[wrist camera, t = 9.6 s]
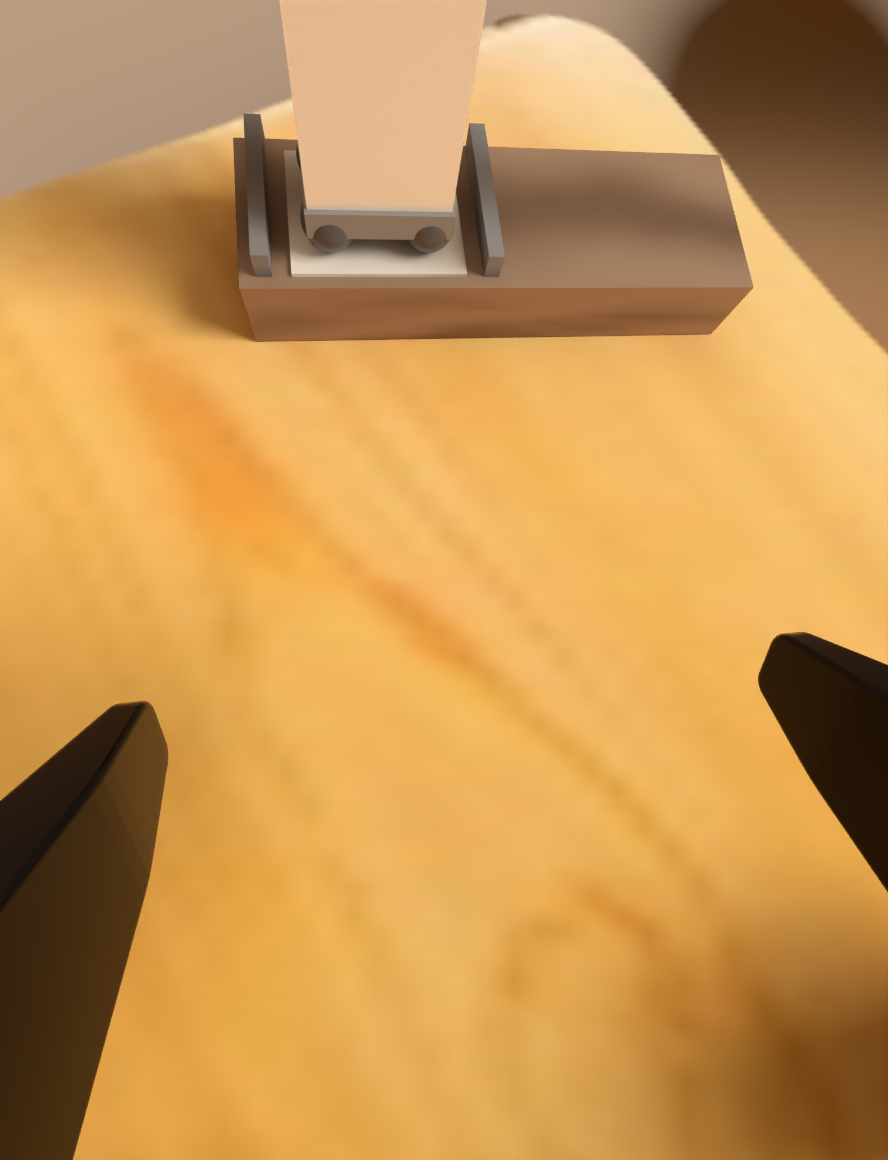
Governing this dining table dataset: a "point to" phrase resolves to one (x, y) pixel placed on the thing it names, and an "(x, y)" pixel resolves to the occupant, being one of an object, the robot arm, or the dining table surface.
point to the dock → (501, 250)
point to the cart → (380, 115)
